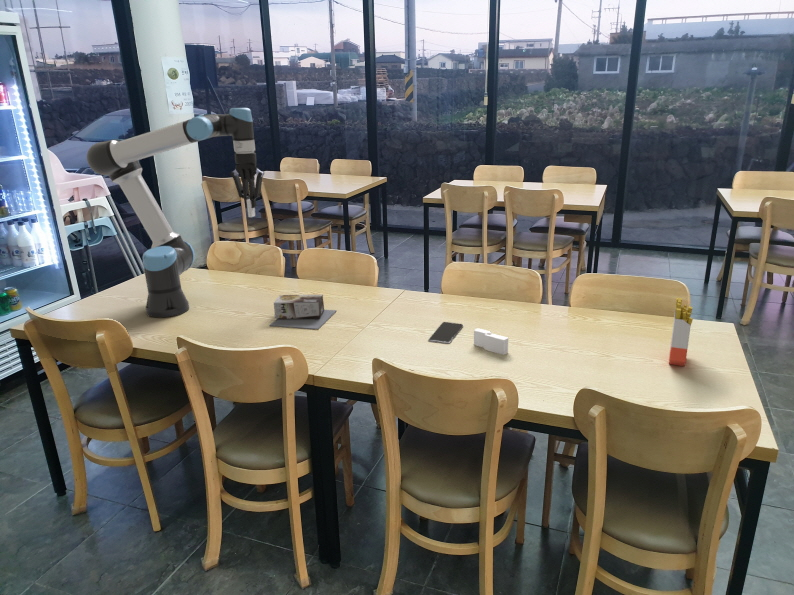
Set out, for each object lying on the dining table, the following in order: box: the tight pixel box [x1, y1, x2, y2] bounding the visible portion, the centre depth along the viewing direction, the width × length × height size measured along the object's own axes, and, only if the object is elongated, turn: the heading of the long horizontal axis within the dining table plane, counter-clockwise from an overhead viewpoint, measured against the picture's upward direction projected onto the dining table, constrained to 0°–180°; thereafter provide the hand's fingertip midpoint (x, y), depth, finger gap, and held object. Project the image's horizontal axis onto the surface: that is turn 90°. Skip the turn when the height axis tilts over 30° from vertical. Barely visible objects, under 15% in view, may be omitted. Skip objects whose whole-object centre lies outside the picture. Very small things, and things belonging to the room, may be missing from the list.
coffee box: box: [273, 294, 325, 320], centre depth 218 cm, size 9×6×16 cm
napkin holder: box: [473, 327, 509, 356], centre depth 188 cm, size 15×11×6 cm
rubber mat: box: [269, 309, 337, 330], centre depth 217 cm, size 18×18×1 cm
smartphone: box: [427, 321, 464, 345], centre depth 200 cm, size 7×1×16 cm
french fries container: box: [668, 297, 694, 367], centre depth 173 cm, size 5×11×18 cm, turn 156°
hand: (251, 216), depth 229 cm, fingers closed
